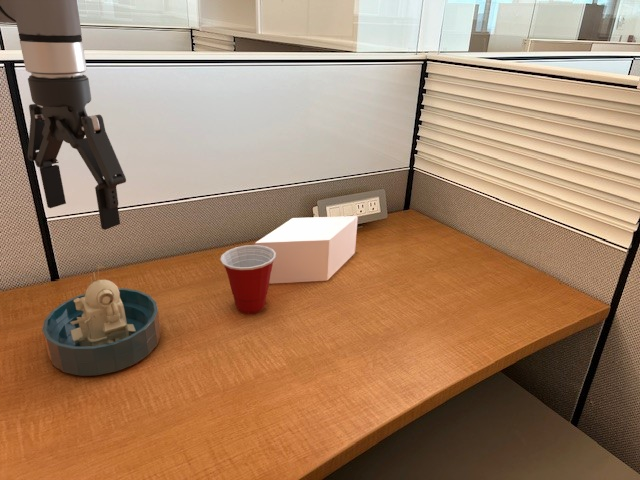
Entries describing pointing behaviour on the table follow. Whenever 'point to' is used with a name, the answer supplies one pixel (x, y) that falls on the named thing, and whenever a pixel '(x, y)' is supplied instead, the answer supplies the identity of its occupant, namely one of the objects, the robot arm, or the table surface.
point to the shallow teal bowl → (105, 356)
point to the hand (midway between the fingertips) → (82, 215)
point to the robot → (100, 315)
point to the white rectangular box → (310, 248)
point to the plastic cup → (249, 275)
